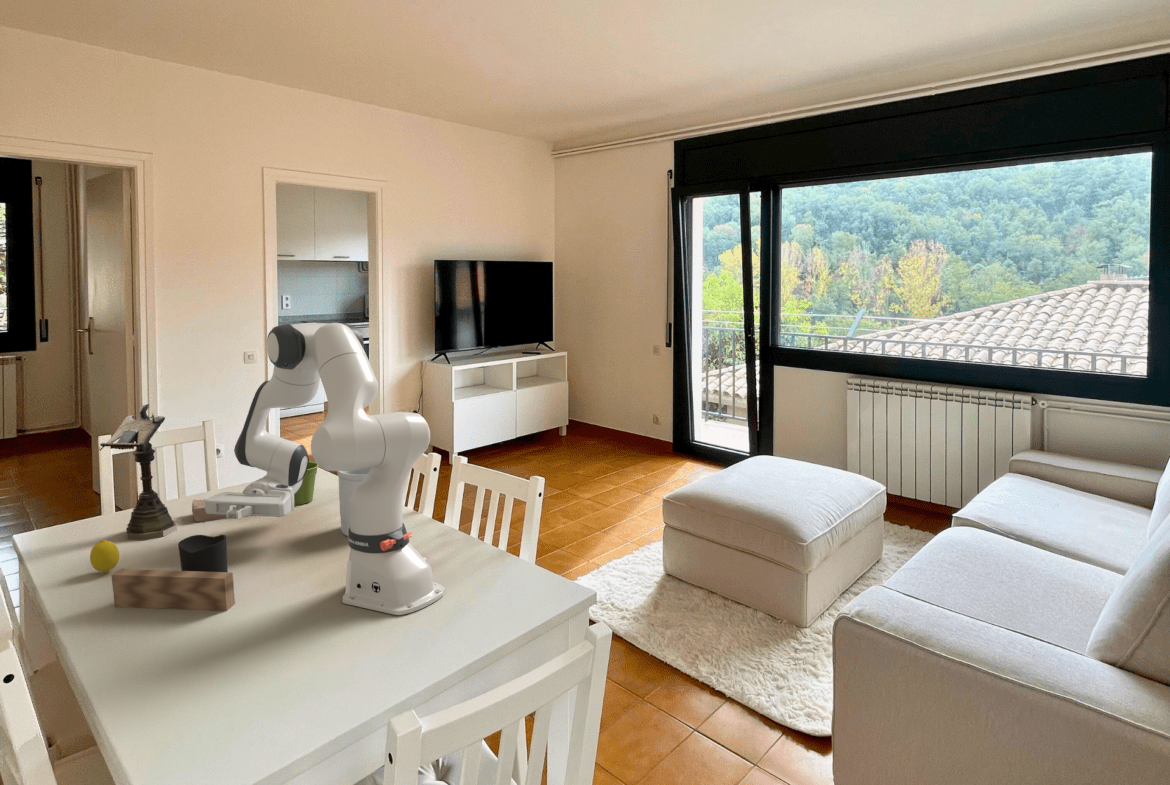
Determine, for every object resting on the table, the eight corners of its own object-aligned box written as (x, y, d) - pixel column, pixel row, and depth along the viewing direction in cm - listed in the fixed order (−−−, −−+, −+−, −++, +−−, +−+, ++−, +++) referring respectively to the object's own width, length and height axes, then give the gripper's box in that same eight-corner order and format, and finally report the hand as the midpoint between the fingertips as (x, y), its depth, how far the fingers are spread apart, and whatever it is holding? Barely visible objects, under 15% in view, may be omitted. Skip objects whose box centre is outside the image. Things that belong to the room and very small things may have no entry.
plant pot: (324, 504, 211) (322, 468, 209) (281, 510, 205) (279, 473, 203) (317, 493, 221) (315, 459, 219) (277, 499, 215) (274, 463, 213)
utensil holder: (386, 516, 200) (384, 457, 197) (404, 532, 188) (402, 469, 185) (334, 526, 192) (330, 464, 189) (348, 543, 180) (345, 477, 177)
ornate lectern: (147, 548, 175) (133, 412, 169) (100, 545, 177) (85, 410, 171) (192, 525, 191) (181, 400, 185) (149, 523, 193) (136, 399, 187)
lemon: (95, 569, 162) (92, 537, 161) (123, 566, 164) (120, 534, 163) (88, 579, 157) (84, 545, 156) (117, 575, 159) (113, 542, 158)
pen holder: (218, 570, 163) (215, 529, 161) (237, 581, 157) (233, 539, 155) (175, 583, 156) (171, 541, 154) (192, 596, 150) (189, 552, 148)
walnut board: (235, 603, 146) (232, 572, 145) (227, 610, 143) (224, 578, 142) (124, 600, 147) (121, 568, 146) (114, 606, 144) (111, 574, 143)
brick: (254, 506, 209) (253, 491, 208) (258, 514, 202) (257, 498, 201) (192, 515, 200) (190, 500, 200) (194, 524, 194) (192, 508, 193)
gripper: (221, 483, 180) (188, 501, 167) (298, 487, 179) (272, 504, 166) (223, 507, 181) (190, 526, 168) (300, 510, 180) (273, 530, 167)
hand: (231, 515), depth 167 cm, fingers closed
